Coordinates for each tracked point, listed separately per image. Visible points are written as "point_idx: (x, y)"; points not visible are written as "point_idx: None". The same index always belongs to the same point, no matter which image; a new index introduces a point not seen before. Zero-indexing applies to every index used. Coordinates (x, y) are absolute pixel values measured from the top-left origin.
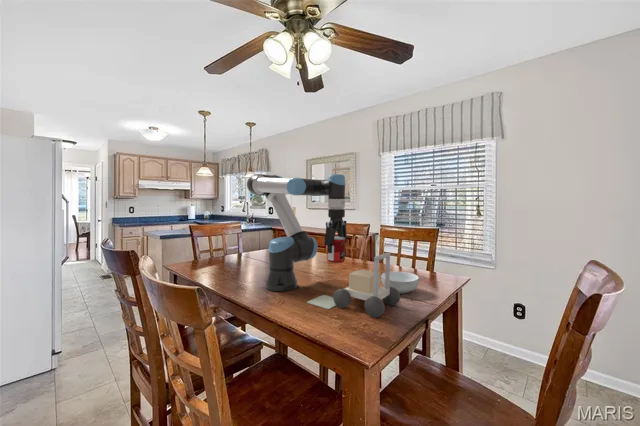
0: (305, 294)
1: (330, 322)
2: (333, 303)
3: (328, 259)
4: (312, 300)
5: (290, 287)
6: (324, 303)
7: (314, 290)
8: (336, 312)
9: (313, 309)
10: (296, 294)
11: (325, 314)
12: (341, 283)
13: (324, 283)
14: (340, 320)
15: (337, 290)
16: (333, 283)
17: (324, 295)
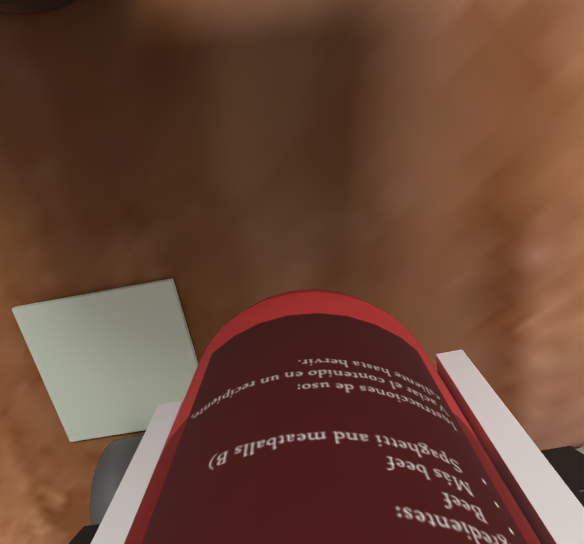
0: (82, 179)
1: (4, 522)
2: (132, 413)
3: (159, 417)
4: (53, 312)
5: (4, 7)
6: (89, 386)
7: (187, 153)
8: (86, 477)
9: (5, 393)
10: (24, 135)
11: (28, 463)
12: (476, 162)
13: (373, 60)
14: (52, 532)
15: (91, 516)
16: (429, 116)
17: (168, 295)
